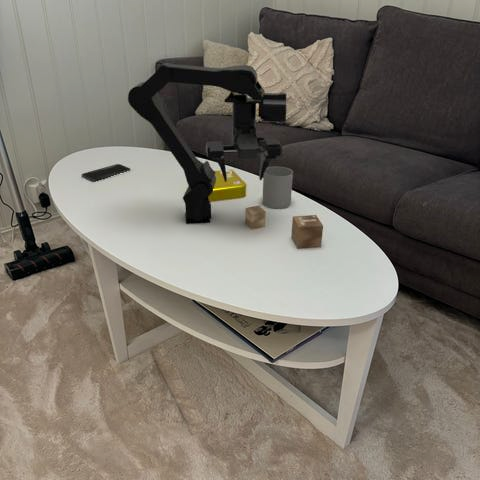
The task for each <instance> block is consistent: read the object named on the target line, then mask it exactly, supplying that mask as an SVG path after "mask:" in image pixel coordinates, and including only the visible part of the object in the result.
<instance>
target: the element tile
mask: <svg viewBox="0 0 480 480" xmlns="http://www.w3.org/2000/svg"><path fill="white" fill-rule="evenodd" d="M214 171H215V172H216V173H215V177H216V183H215V186H214V189H213V191H212V193H211V195H210V196H209V197H208V198H209V201H210V202H211V203H214V202H220V201H229V200H236V199H244V198H245V197H246V196H247V183H246V182H245V181H244V180H243V179H242V178H241V177H240V176H239V174H237V173H236V172H235V171H234V170H233V169H226V176H227V182H225V180H224V177H223V174H222V171H221V170H214Z"/></svg>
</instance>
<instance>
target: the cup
mask: <svg viewBox="0 0 480 480" xmlns="http://www.w3.org/2000/svg"><path fill="white" fill-rule="evenodd" d="M293 175H294V171H293V170H292V169H291V168H289V167H284V166H269V167H268V166H267V168H266V170H265V173H264V175H263V178H262V202H261V203H262V205H263V206H264V207H265V208H267V209H271V210H285V209H287V208H289V207H291V204H292V190H293V179H294V178H293V177H294V176H293Z"/></svg>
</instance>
